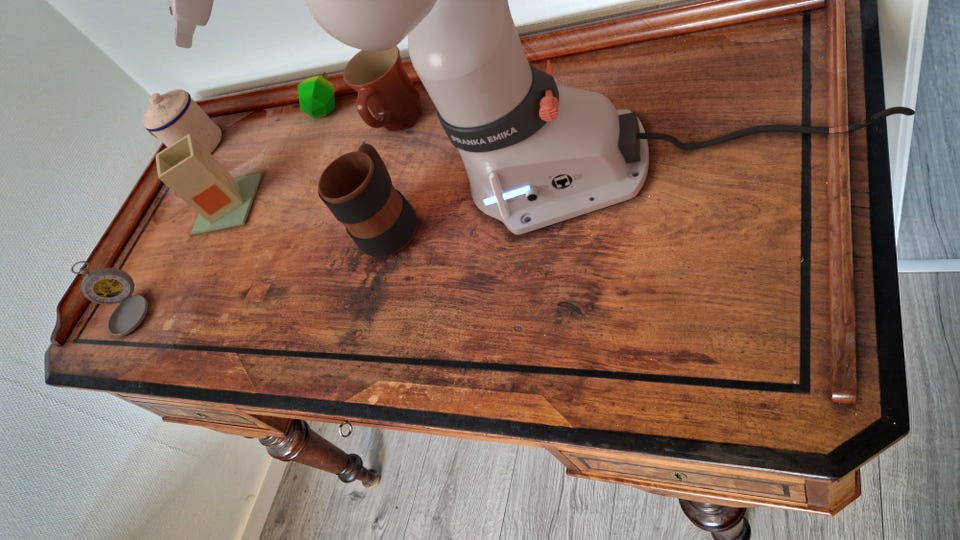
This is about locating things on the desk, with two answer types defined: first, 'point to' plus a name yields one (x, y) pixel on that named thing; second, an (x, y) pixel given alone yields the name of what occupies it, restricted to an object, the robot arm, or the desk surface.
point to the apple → (316, 96)
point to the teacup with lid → (180, 120)
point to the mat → (237, 215)
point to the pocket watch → (114, 297)
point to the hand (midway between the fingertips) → (179, 29)
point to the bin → (198, 179)
